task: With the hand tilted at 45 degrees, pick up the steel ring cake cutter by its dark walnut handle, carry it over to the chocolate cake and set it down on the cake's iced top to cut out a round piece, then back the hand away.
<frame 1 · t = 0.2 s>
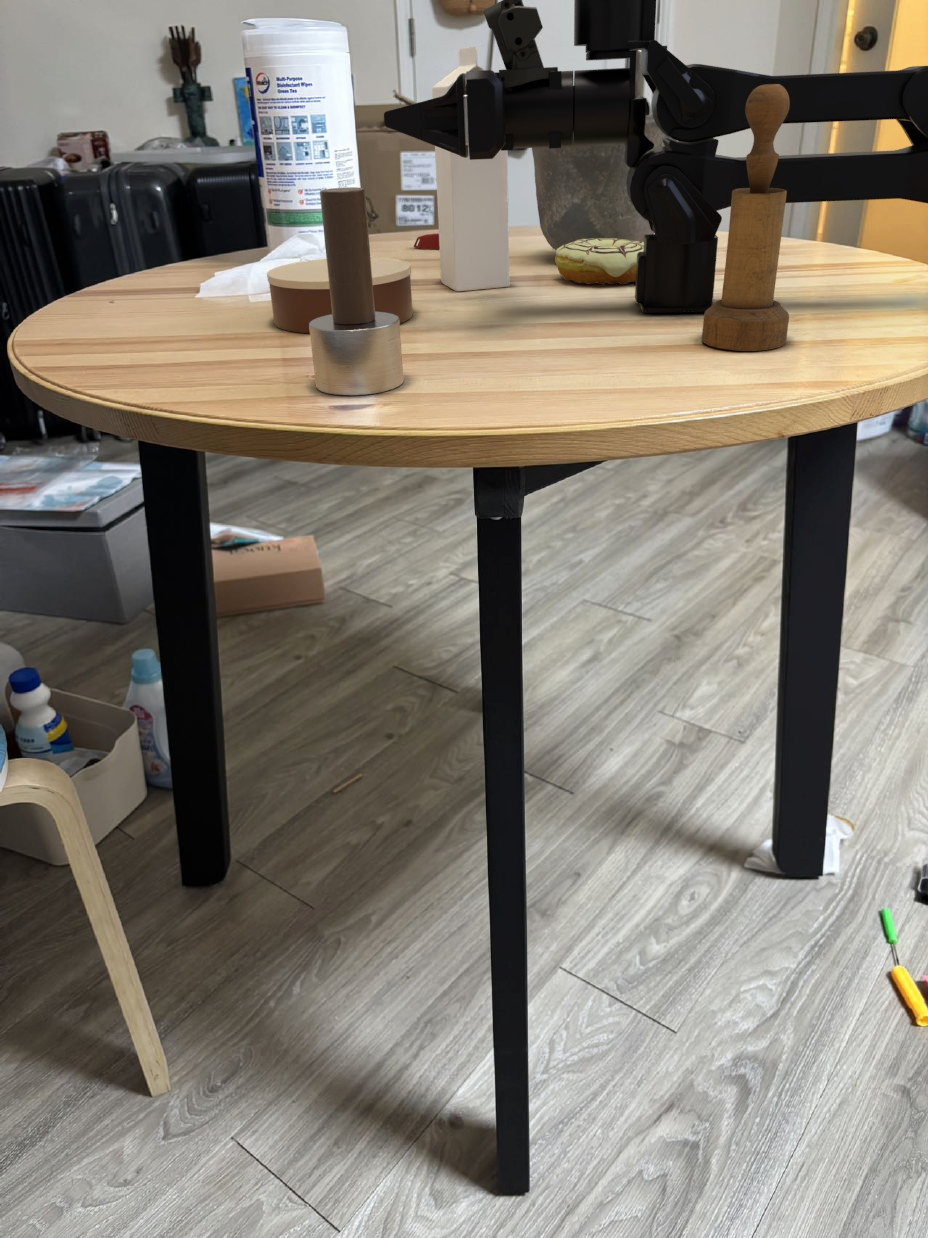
hand: (392, 117, 84), 17 cm above the table, tool horizontal, fingers open, 9 cm apart
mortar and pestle: (743, 344, 77), on the table
milk: (474, 286, 104), on the table
cake cutter: (359, 383, 70), on the table
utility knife: (454, 250, 128), on the table
cake: (343, 318, 91), on the table
decorated donut: (605, 280, 104), on the table
grey stone pot: (601, 258, 117), on the table
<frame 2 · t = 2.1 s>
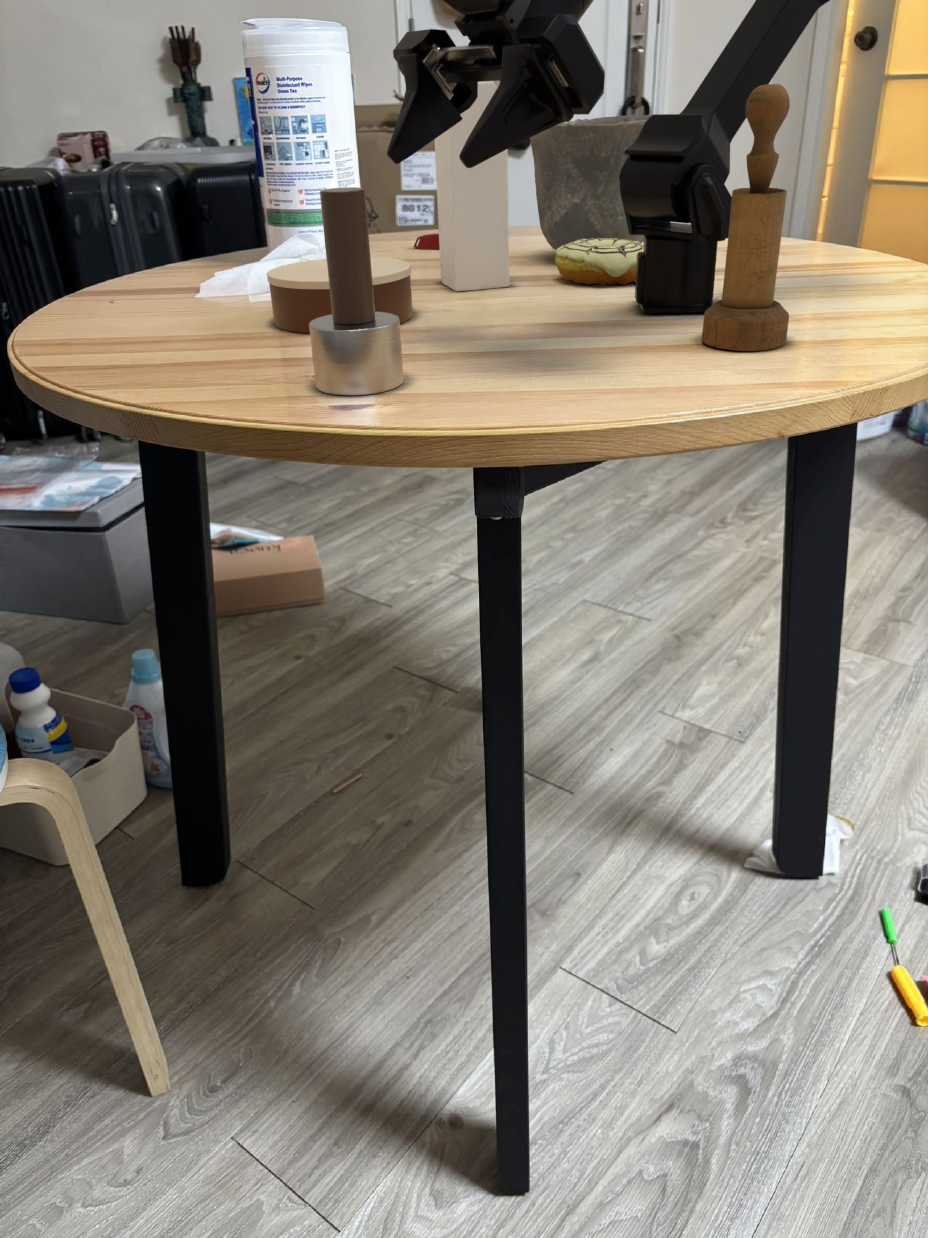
hand: (426, 160, 69), 14 cm above the table, tool tilted 50°, fingers open, 9 cm apart
nothing on the table moved.
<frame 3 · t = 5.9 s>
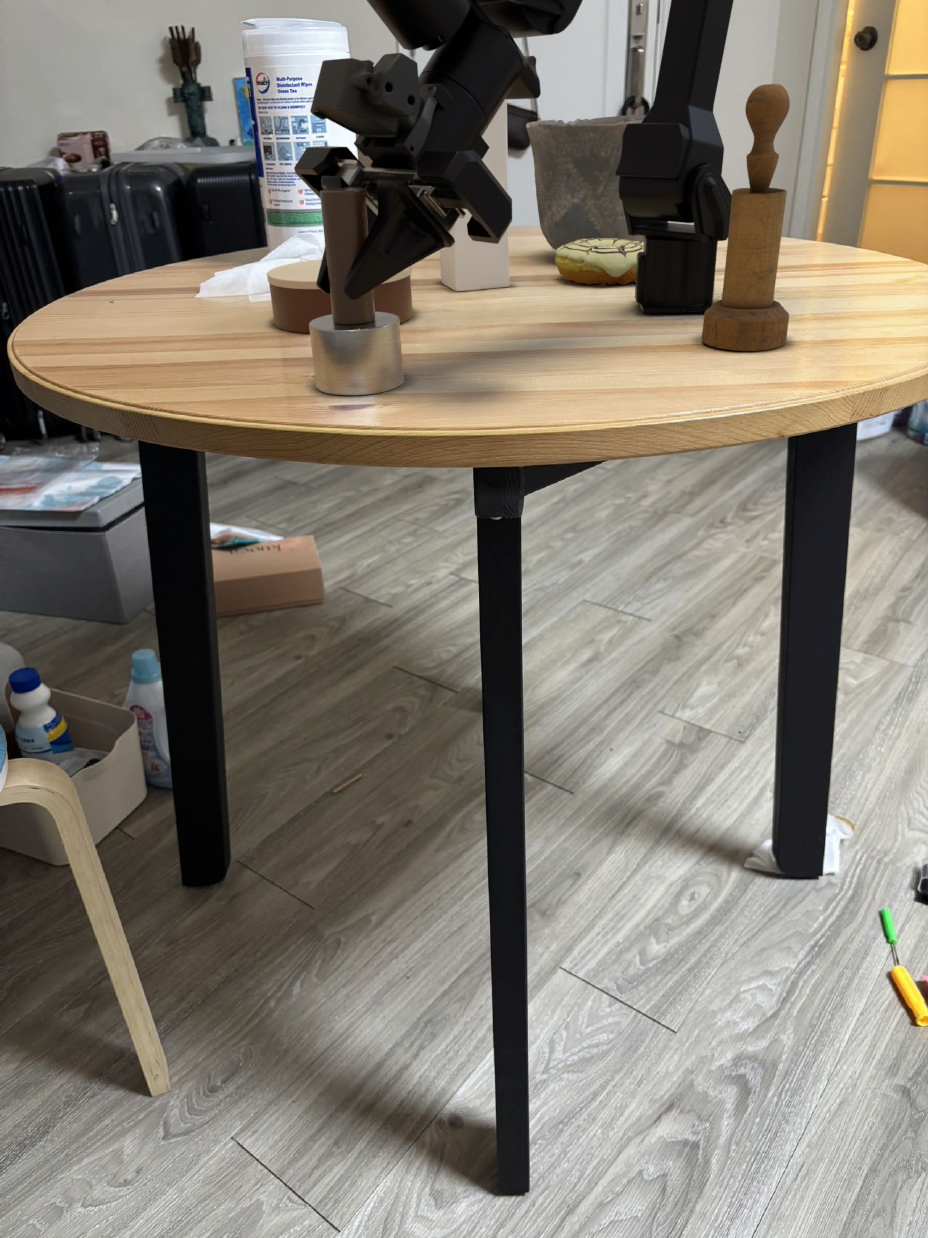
hand: (334, 292, 67), 7 cm above the table, tool tilted 45°, fingers closed on cake cutter, 3 cm apart
cake cutter: (360, 383, 70), on the table, touching gripper
everything else where it was.
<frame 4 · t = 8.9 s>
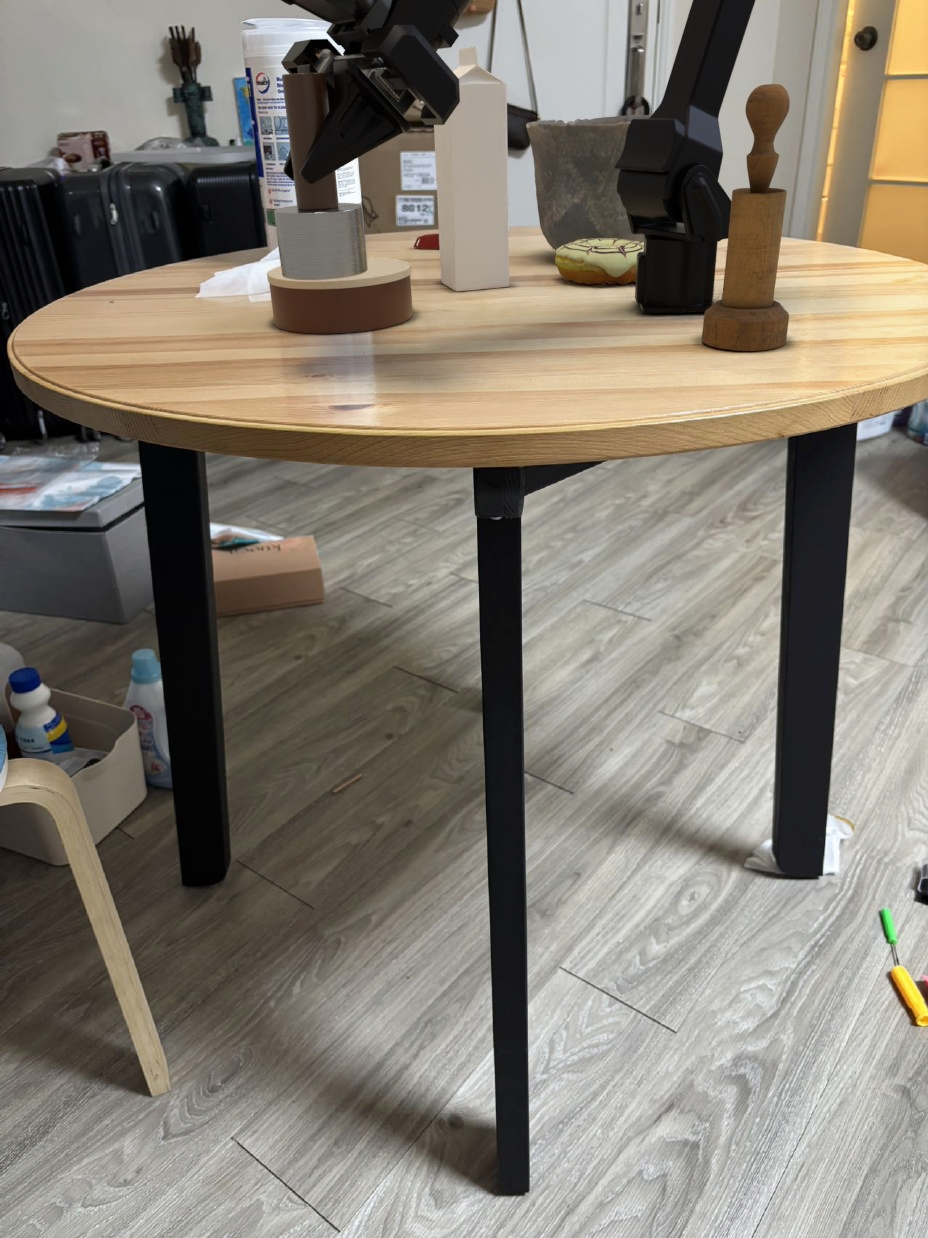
hand: (296, 177, 69), 13 cm above the table, tool tilted 45°, fingers closed on cake cutter, 3 cm apart
cake cutter: (325, 272, 72), point 7 cm above the table, touching gripper
everything else where it was.
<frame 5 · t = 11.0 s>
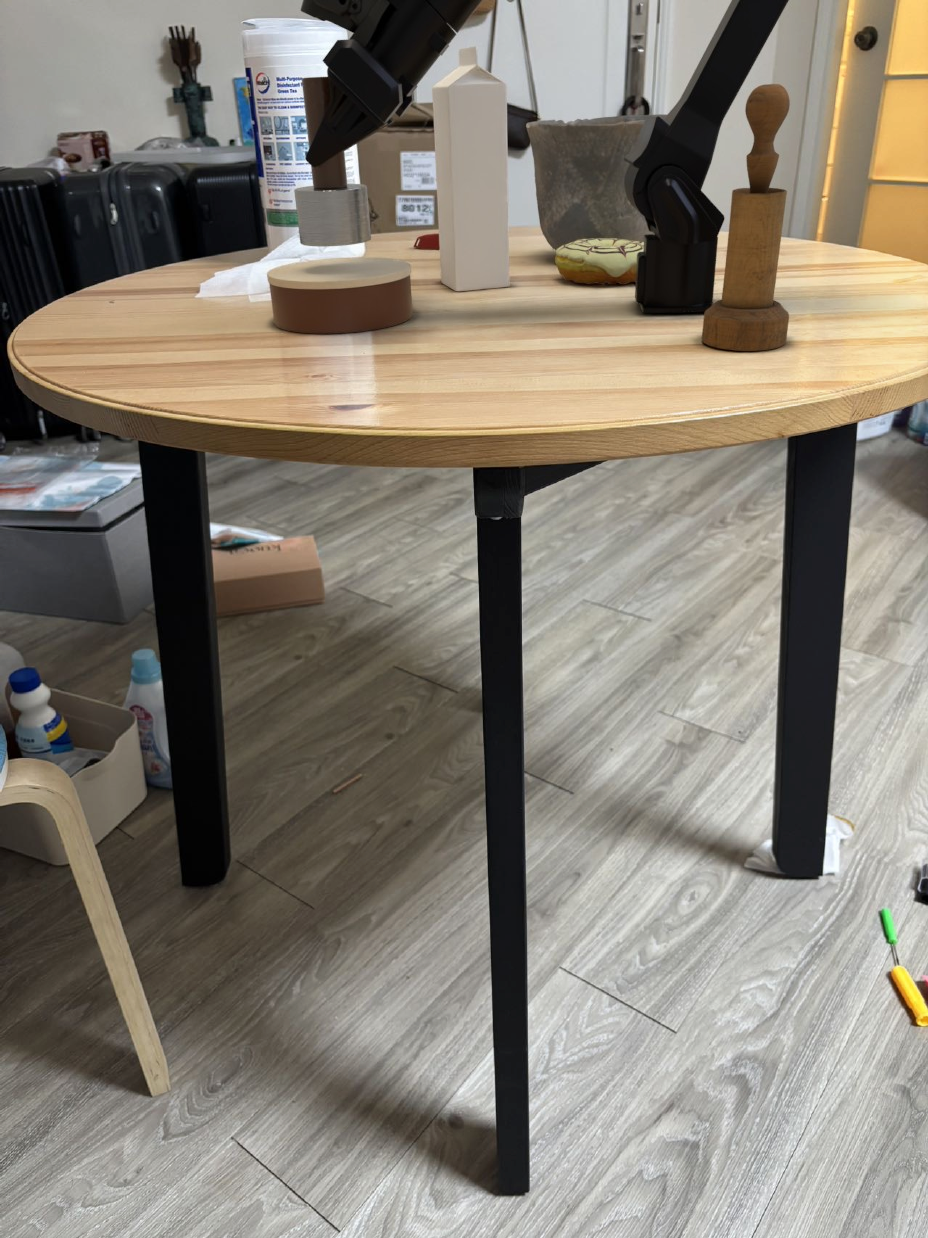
hand: (312, 161, 84), 13 cm above the table, tool tilted 45°, fingers closed on cake cutter, 3 cm apart
cake cutter: (335, 241, 88), point 7 cm above the table, touching gripper
everything else where it was.
when the fingers open (11 cm above the table, at t = 12.3 s): cake cutter stays where it is, resting on cake.
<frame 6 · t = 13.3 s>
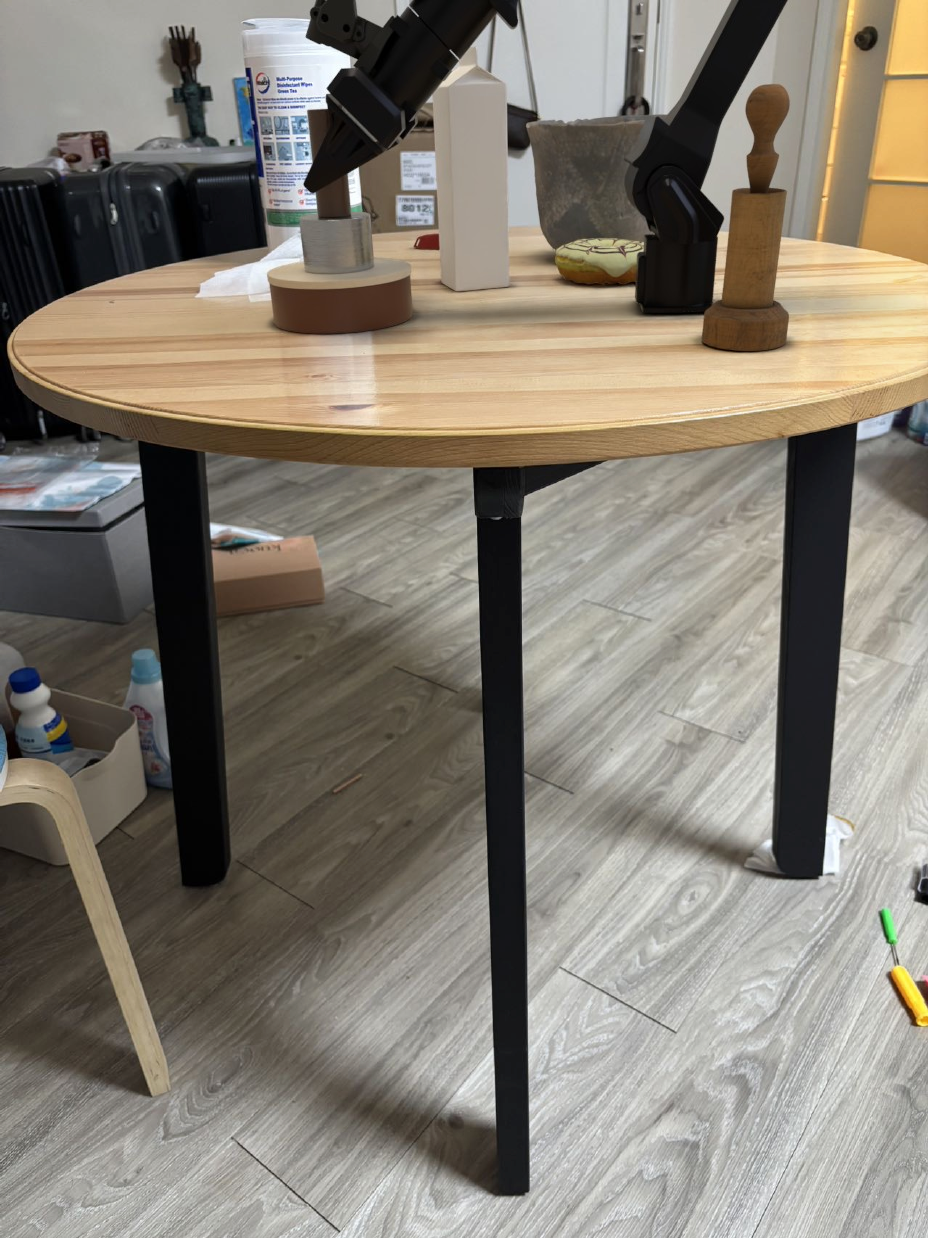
hand: (316, 184, 86), 12 cm above the table, tool tilted 45°, fingers open, 9 cm apart
cake cutter: (339, 268, 89), point 4 cm above the table, touching cake
everything else where it was.
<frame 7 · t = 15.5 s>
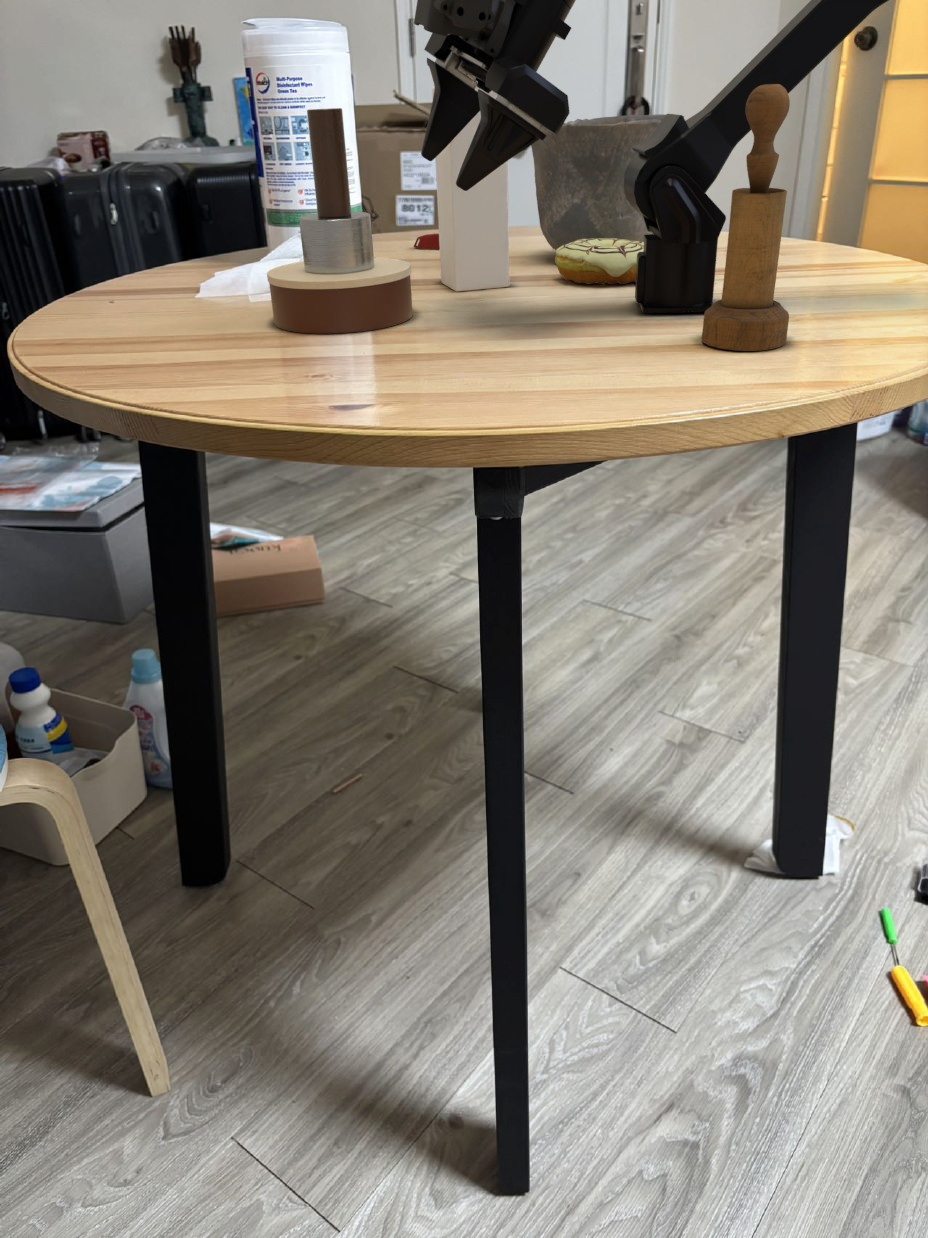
hand: (442, 172, 84), 12 cm above the table, tool tilted 35°, fingers open, 9 cm apart
nothing on the table moved.
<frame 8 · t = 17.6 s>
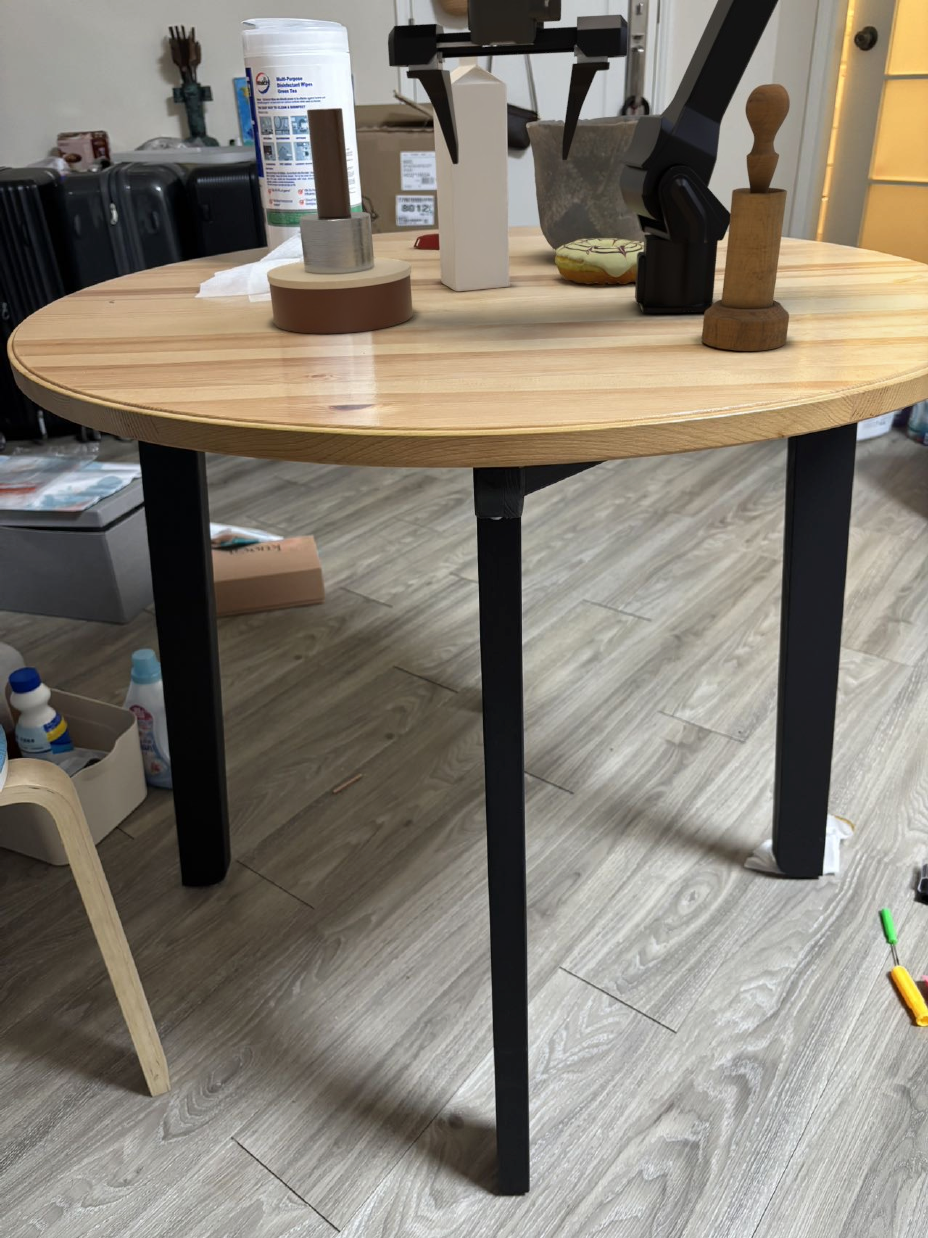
hand: (509, 161, 81), 13 cm above the table, tool pointing down, fingers open, 9 cm apart
nothing on the table moved.
at the end: cake cutter 0.0 cm off-centre on the cake, point 4.5 cm above the cake's base; cake cutter tilted 0°; the gripper is holding nothing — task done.
